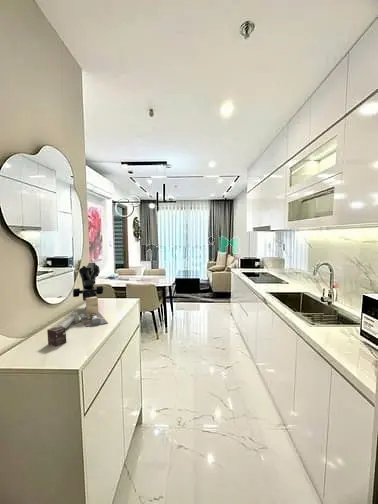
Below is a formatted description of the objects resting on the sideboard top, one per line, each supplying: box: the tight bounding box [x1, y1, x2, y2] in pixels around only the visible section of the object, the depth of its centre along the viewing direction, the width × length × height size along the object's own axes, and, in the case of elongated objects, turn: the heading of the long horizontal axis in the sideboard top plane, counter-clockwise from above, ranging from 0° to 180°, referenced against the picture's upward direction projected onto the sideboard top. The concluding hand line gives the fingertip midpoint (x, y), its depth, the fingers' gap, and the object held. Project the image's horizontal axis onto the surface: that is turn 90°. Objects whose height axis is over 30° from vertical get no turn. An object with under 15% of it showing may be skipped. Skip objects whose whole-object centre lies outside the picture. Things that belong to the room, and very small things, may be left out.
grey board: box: [79, 310, 109, 328], centre depth 183 cm, size 30×12×4 cm, turn 27°
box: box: [46, 325, 67, 347], centre depth 142 cm, size 6×6×7 cm
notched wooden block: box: [85, 296, 99, 319], centre depth 184 cm, size 5×6×12 cm
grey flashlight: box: [56, 311, 81, 329], centre depth 167 cm, size 5×7×25 cm
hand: (90, 302), depth 190 cm, fingers closed
